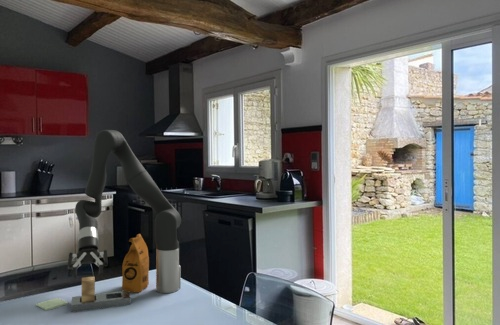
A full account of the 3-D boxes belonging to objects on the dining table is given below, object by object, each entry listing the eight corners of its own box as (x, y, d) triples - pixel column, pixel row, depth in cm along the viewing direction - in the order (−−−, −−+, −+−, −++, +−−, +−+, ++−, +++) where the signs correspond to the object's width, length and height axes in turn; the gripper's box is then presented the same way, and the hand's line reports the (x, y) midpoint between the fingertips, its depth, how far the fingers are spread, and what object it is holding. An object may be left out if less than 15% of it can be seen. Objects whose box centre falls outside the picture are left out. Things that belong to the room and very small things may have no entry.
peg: (94, 303, 144) (94, 276, 144) (94, 307, 140) (94, 279, 140) (81, 304, 143) (81, 277, 143) (81, 308, 139) (81, 281, 139)
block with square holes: (127, 296, 151) (127, 290, 151) (130, 304, 143) (130, 297, 143) (72, 303, 144) (72, 296, 144) (71, 312, 135) (71, 305, 135)
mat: (57, 299, 148) (57, 297, 148) (68, 304, 143) (68, 302, 143) (35, 305, 141) (35, 303, 141) (46, 310, 137) (46, 308, 137)
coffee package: (117, 292, 156) (118, 238, 156) (130, 283, 168) (130, 233, 168) (141, 293, 155) (141, 239, 155) (152, 284, 167) (152, 233, 167)
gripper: (68, 236, 151) (66, 273, 140) (107, 234, 156) (108, 269, 146) (69, 247, 156) (67, 283, 145) (106, 244, 161) (107, 279, 151)
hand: (88, 276), depth 146 cm, fingers open, 8 cm apart
